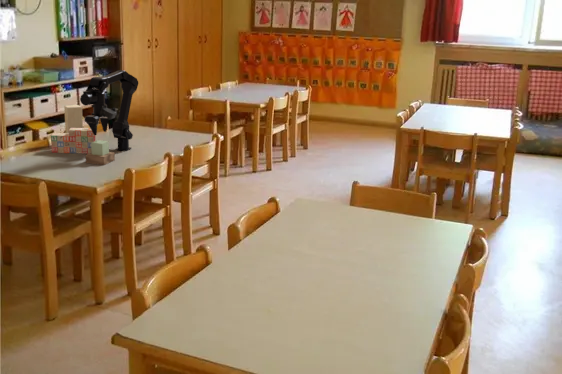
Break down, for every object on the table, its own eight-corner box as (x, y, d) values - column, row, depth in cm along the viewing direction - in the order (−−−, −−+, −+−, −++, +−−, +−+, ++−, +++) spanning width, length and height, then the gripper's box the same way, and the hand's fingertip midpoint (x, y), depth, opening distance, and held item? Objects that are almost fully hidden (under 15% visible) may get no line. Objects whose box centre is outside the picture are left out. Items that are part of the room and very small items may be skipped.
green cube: (98, 151, 303) (97, 140, 301) (109, 153, 301) (108, 141, 299) (91, 154, 297) (91, 142, 295) (102, 155, 296) (102, 143, 294)
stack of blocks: (51, 152, 312) (50, 129, 308) (54, 150, 317) (52, 127, 314) (94, 153, 314) (93, 130, 311) (96, 150, 320) (95, 128, 317)
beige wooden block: (80, 142, 336) (78, 104, 330) (83, 144, 330) (82, 107, 324) (65, 143, 332) (63, 105, 326) (68, 146, 326) (66, 107, 320)
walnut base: (96, 158, 306) (96, 150, 305) (114, 160, 304) (114, 152, 303) (86, 162, 297) (85, 154, 296) (104, 165, 294) (104, 157, 293)
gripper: (103, 107, 291) (104, 138, 296) (122, 101, 308) (123, 131, 313) (83, 105, 294) (84, 136, 298) (103, 99, 311) (104, 129, 316)
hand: (100, 133), depth 306 cm, fingers open, 9 cm apart
